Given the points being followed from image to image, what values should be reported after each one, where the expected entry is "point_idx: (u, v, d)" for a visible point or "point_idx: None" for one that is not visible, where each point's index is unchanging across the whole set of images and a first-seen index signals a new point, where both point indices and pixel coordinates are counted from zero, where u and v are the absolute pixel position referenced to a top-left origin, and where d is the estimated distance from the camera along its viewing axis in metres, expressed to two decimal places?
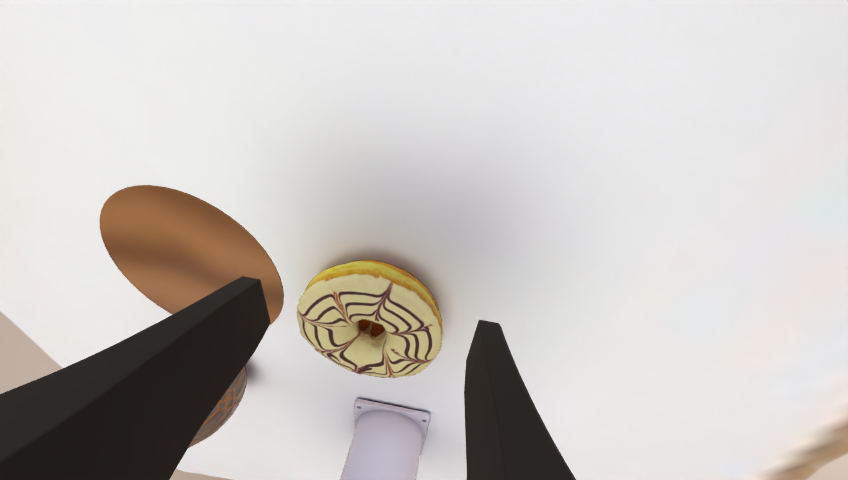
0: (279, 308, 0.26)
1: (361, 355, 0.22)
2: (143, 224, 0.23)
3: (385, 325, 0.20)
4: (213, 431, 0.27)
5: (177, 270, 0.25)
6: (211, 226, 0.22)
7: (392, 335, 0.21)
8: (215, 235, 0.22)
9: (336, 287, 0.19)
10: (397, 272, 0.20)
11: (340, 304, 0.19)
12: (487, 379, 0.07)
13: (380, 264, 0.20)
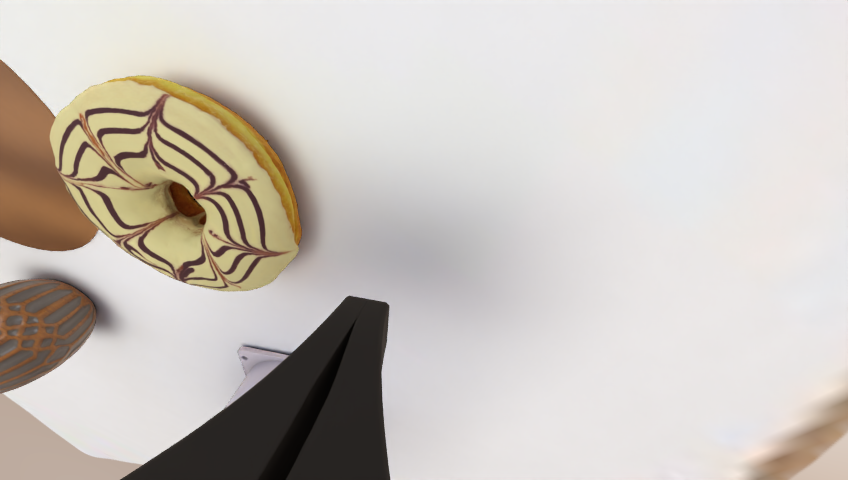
0: None
1: (175, 247, 0.15)
2: None
3: (181, 181, 0.13)
4: (17, 379, 0.20)
5: None
6: None
7: (199, 202, 0.13)
8: None
9: (80, 104, 0.12)
10: (197, 94, 0.12)
11: (91, 134, 0.12)
12: (345, 352, 0.07)
13: (169, 81, 0.12)
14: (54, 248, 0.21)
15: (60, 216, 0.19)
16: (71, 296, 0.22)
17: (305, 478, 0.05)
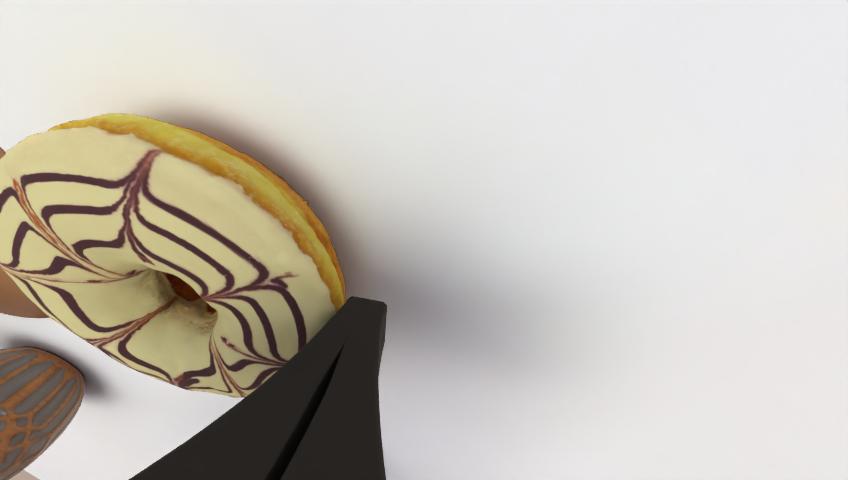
0: None
1: (172, 351, 0.10)
2: None
3: (180, 276, 0.08)
4: None
5: None
6: None
7: (208, 303, 0.09)
8: None
9: (13, 165, 0.07)
10: (205, 141, 0.08)
11: (33, 213, 0.07)
12: None
13: (161, 122, 0.08)
14: (28, 315, 0.17)
15: None
16: (52, 370, 0.18)
17: (300, 477, 0.05)
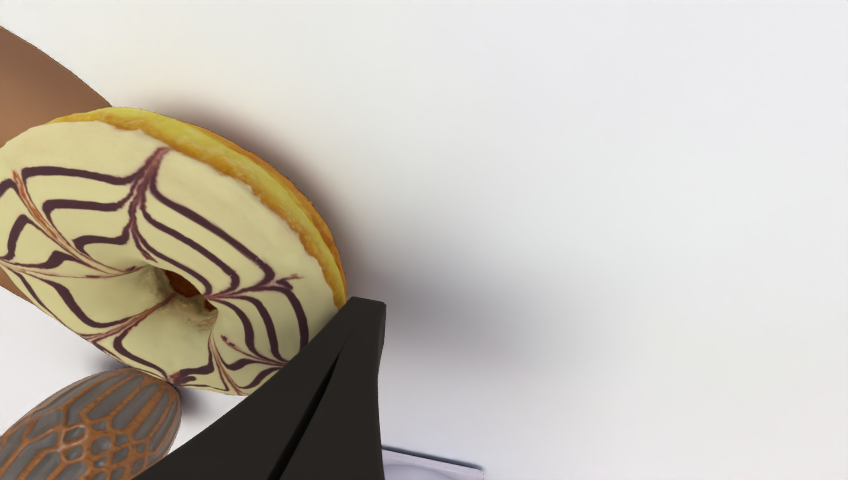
0: None
1: (169, 348, 0.10)
2: None
3: (182, 275, 0.08)
4: None
5: None
6: (36, 100, 0.10)
7: (210, 302, 0.09)
8: None
9: (13, 157, 0.07)
10: (213, 139, 0.08)
11: (33, 206, 0.07)
12: None
13: (168, 117, 0.08)
14: None
15: None
16: (159, 392, 0.18)
17: (299, 477, 0.05)
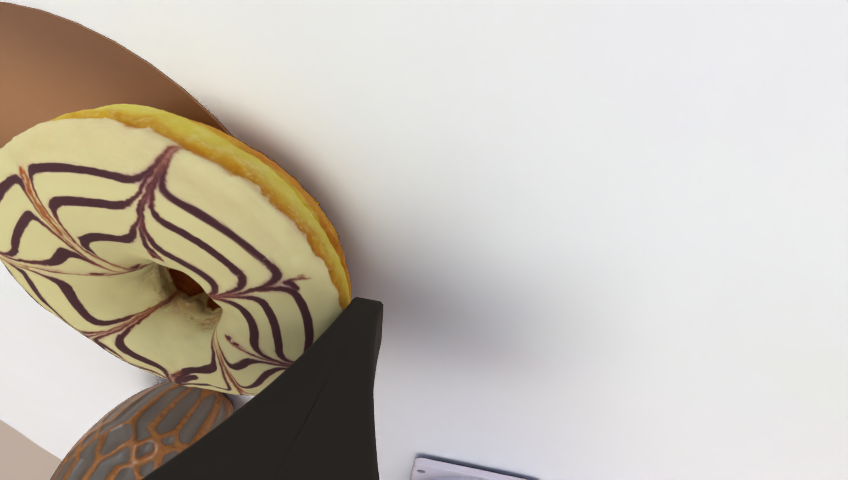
0: None
1: (171, 346, 0.10)
2: None
3: (188, 274, 0.08)
4: None
5: None
6: None
7: (215, 301, 0.09)
8: None
9: (20, 152, 0.07)
10: (222, 138, 0.08)
11: (39, 202, 0.07)
12: None
13: (177, 115, 0.08)
14: None
15: None
16: (217, 404, 0.17)
17: (293, 475, 0.05)
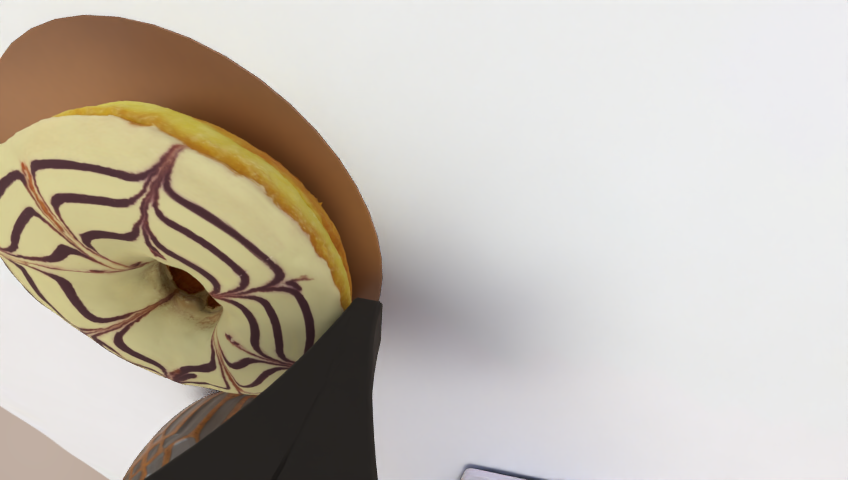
0: None
1: (170, 344, 0.10)
2: None
3: (190, 272, 0.08)
4: None
5: None
6: (240, 131, 0.09)
7: (217, 300, 0.08)
8: None
9: (23, 148, 0.07)
10: (227, 137, 0.08)
11: (41, 199, 0.07)
12: None
13: (181, 113, 0.08)
14: None
15: None
16: None
17: (291, 475, 0.05)
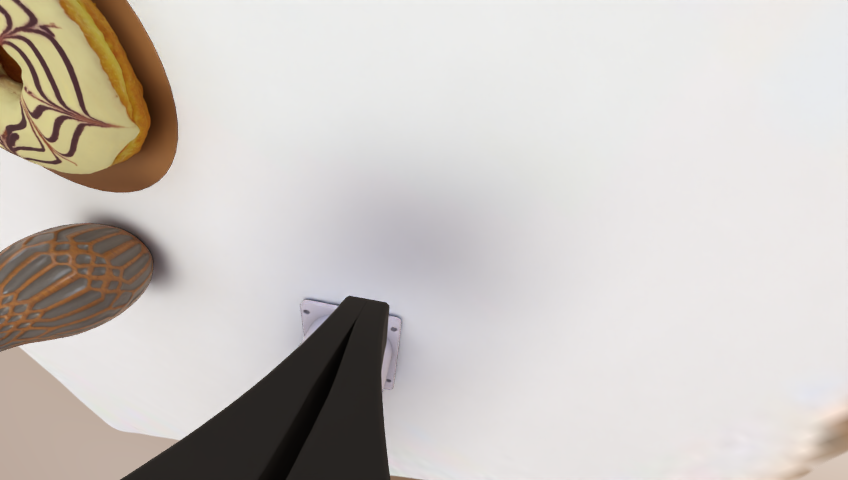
0: (174, 133, 0.18)
1: None
2: None
3: None
4: (84, 321, 0.19)
5: None
6: None
7: (6, 51, 0.13)
8: None
9: None
10: None
11: None
12: (345, 352, 0.07)
13: None
14: (119, 189, 0.20)
15: None
16: (133, 242, 0.22)
17: (305, 478, 0.05)
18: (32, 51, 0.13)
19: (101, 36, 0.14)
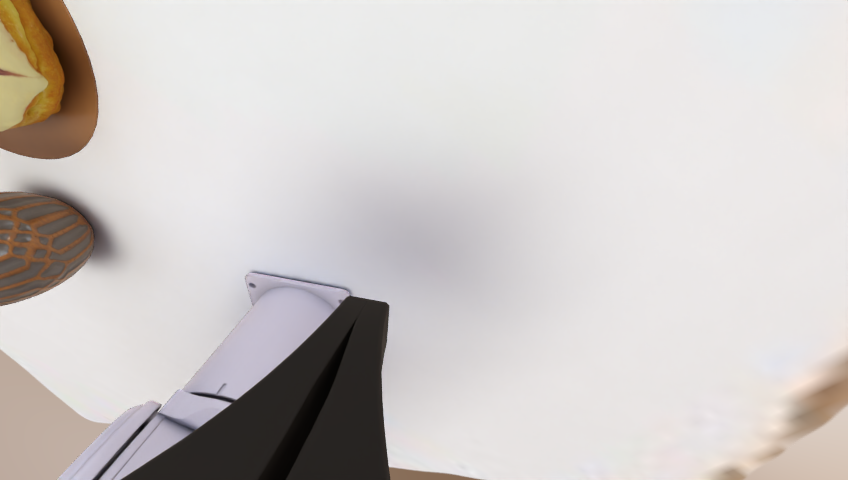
0: (92, 90, 0.17)
1: None
2: None
3: None
4: (8, 290, 0.18)
5: None
6: None
7: None
8: None
9: None
10: None
11: None
12: (345, 351, 0.07)
13: None
14: (48, 155, 0.20)
15: None
16: (67, 212, 0.21)
17: (305, 478, 0.05)
18: None
19: None
